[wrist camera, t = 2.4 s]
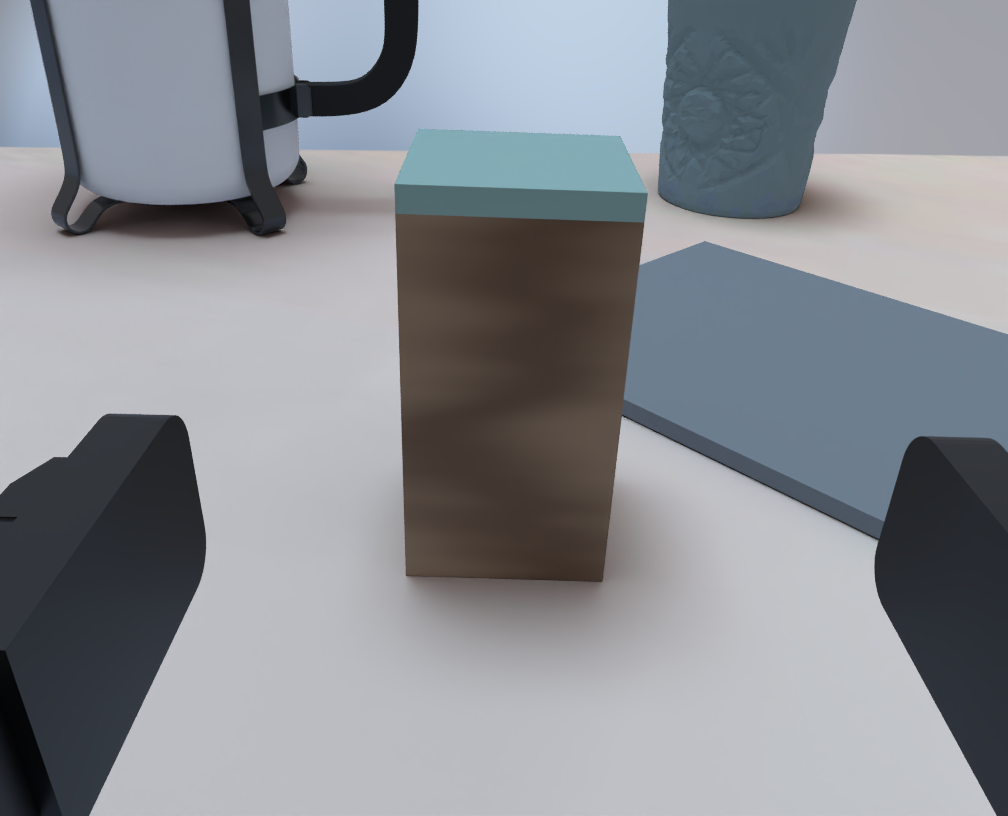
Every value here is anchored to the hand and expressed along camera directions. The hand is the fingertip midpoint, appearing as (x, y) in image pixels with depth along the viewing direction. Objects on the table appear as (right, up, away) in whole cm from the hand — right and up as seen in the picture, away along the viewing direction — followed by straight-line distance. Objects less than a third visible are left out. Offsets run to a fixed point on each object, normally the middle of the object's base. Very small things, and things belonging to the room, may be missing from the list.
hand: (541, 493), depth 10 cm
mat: (+11, +2, +23) cm, 26 cm away
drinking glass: (+13, +14, +43) cm, 47 cm away
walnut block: (0, -2, +14) cm, 15 cm away
